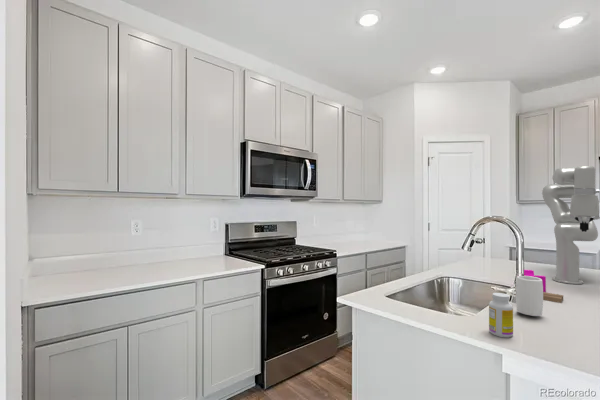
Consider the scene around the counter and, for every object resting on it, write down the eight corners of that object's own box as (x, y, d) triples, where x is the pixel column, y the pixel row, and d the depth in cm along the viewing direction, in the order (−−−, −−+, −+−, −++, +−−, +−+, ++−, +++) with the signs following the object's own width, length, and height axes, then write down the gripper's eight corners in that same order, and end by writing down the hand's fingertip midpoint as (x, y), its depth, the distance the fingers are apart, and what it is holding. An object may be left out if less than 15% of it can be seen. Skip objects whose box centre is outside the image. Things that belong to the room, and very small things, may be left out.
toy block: (517, 283, 167) (517, 269, 167) (531, 284, 165) (531, 269, 165) (530, 291, 153) (530, 276, 153) (545, 292, 151) (545, 276, 151)
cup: (547, 320, 115) (547, 281, 115) (520, 318, 117) (520, 279, 117) (537, 312, 123) (537, 276, 123) (512, 310, 126) (512, 274, 126)
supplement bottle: (515, 334, 103) (515, 294, 103) (510, 340, 99) (510, 299, 99) (492, 328, 108) (492, 290, 108) (486, 333, 104) (486, 294, 104)
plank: (514, 290, 153) (515, 286, 153) (563, 299, 140) (563, 295, 140) (511, 293, 148) (511, 289, 148) (561, 302, 135) (561, 298, 135)
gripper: (606, 192, 147) (606, 232, 147) (564, 192, 157) (564, 229, 157) (606, 192, 141) (605, 233, 141) (562, 192, 152) (562, 230, 152)
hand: (584, 231), depth 149 cm, fingers closed
